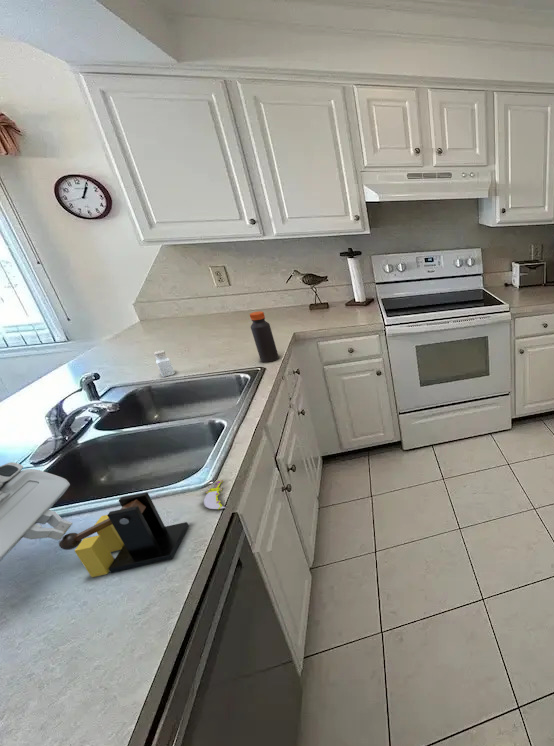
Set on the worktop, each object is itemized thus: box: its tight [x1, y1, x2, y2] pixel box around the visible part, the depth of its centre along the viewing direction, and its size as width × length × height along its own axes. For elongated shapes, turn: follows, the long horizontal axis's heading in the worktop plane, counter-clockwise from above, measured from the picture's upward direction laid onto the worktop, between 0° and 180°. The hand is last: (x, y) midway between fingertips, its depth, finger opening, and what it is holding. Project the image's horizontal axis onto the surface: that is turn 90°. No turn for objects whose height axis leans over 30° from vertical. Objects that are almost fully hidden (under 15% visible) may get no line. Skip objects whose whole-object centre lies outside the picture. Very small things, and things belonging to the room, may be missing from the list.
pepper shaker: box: [153, 350, 176, 378], centre depth 158 cm, size 4×4×10 cm
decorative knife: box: [203, 479, 227, 510], centre depth 96 cm, size 12×1×5 cm
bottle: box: [249, 310, 280, 363], centre depth 167 cm, size 7×7×20 cm
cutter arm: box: [58, 499, 146, 551], centre depth 78 cm, size 15×3×3 cm, turn 106°
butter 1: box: [73, 534, 115, 578], centre depth 77 cm, size 2×3×7 cm
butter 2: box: [94, 514, 124, 553], centre depth 82 cm, size 2×3×7 cm
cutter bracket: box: [106, 491, 190, 574], centre depth 80 cm, size 10×9×12 cm
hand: (66, 531), depth 77 cm, fingers closed
